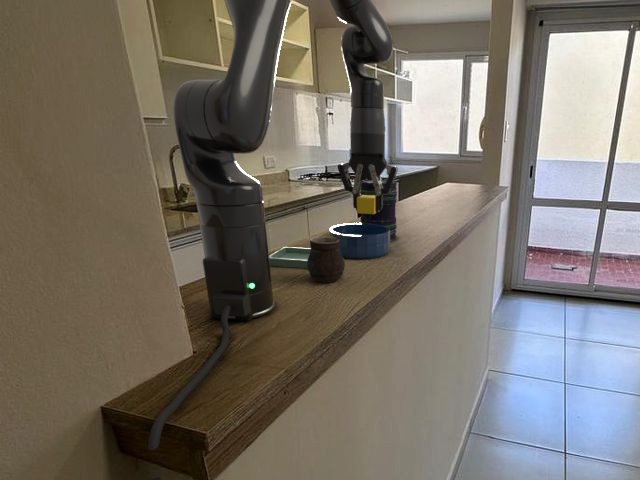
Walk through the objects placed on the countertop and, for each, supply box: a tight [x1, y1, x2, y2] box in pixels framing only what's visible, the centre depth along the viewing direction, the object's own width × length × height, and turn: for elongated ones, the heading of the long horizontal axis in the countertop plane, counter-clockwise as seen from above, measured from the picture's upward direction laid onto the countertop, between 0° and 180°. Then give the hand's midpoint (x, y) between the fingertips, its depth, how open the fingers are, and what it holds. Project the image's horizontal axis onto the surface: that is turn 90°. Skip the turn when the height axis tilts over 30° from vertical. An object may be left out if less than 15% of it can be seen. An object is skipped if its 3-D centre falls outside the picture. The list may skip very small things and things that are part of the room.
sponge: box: [356, 195, 376, 214], centre depth 103 cm, size 5×4×4 cm
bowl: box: [329, 222, 391, 260], centre depth 107 cm, size 14×14×6 cm
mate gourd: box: [307, 229, 346, 284], centre depth 86 cm, size 7×8×10 cm
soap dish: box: [269, 246, 311, 269], centre depth 99 cm, size 10×11×2 cm
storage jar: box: [360, 178, 398, 242], centre depth 119 cm, size 10×10×18 cm
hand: (368, 210), depth 104 cm, fingers closed on sponge, 4 cm apart
